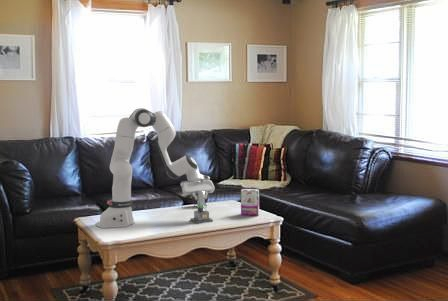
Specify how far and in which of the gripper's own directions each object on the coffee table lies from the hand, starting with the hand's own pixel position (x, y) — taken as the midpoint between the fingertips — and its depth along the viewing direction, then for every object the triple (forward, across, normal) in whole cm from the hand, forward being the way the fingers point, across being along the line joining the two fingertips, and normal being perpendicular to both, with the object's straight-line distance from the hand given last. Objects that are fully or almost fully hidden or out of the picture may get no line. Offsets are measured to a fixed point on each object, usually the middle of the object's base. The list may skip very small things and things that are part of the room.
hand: (201, 198), depth 335 cm
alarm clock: (-17, +15, +37) cm, 44 cm away
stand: (+9, 0, +10) cm, 14 cm away
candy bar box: (+9, +34, +11) cm, 37 cm away
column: (+5, 0, +6) cm, 7 cm away
